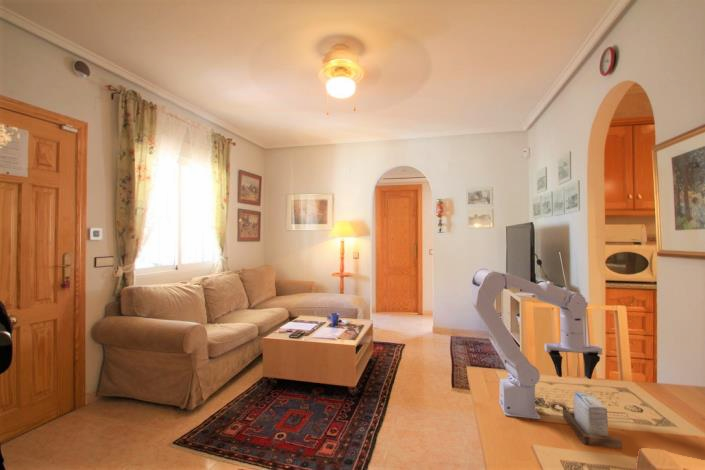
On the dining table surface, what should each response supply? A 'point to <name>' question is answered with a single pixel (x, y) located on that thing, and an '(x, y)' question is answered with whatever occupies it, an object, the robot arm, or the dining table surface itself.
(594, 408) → the medicine box
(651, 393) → the dining table surface
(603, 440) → the walnut u-shaped bracket
